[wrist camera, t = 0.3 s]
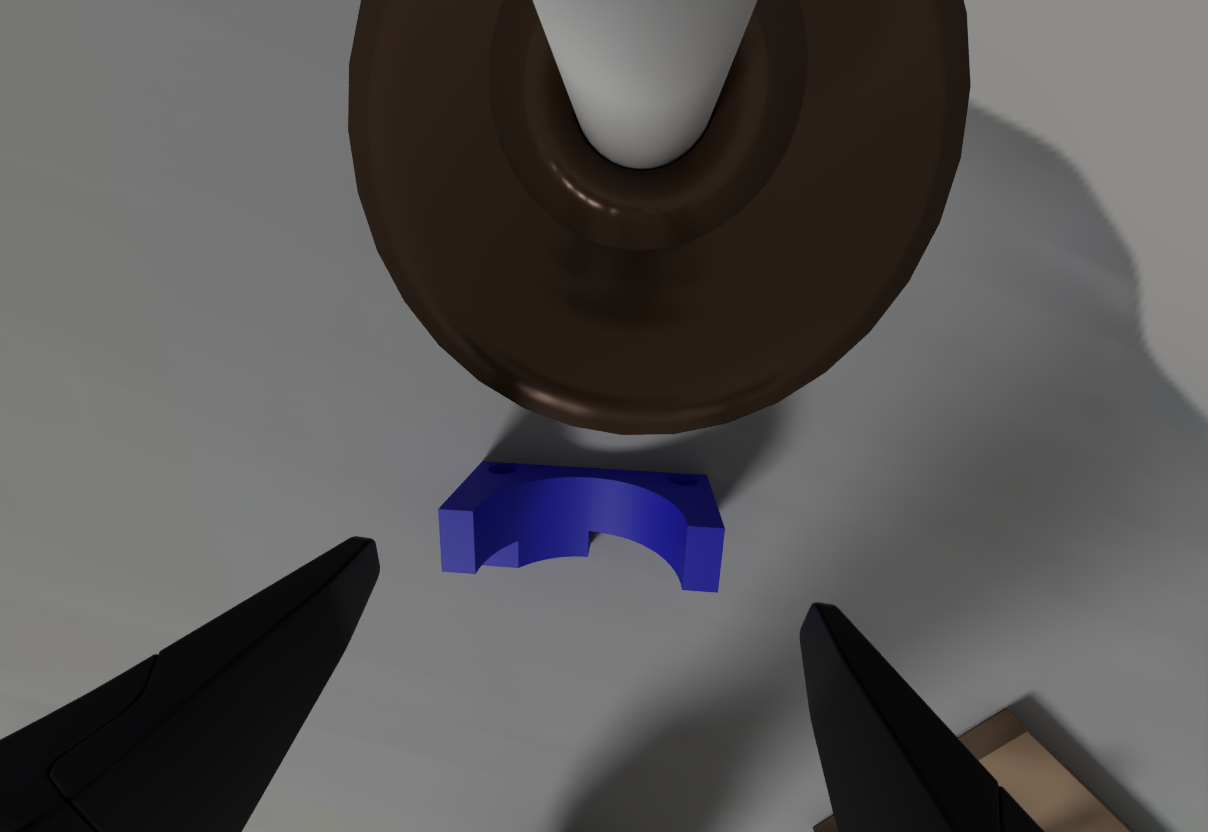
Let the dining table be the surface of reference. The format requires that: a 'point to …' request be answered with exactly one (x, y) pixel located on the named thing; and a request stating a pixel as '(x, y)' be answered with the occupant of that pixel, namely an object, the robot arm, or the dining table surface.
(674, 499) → the cable clip
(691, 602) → the dining table surface
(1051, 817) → the post block
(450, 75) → the candlestick
